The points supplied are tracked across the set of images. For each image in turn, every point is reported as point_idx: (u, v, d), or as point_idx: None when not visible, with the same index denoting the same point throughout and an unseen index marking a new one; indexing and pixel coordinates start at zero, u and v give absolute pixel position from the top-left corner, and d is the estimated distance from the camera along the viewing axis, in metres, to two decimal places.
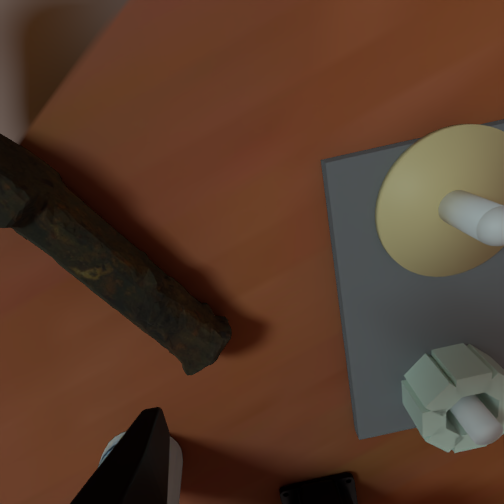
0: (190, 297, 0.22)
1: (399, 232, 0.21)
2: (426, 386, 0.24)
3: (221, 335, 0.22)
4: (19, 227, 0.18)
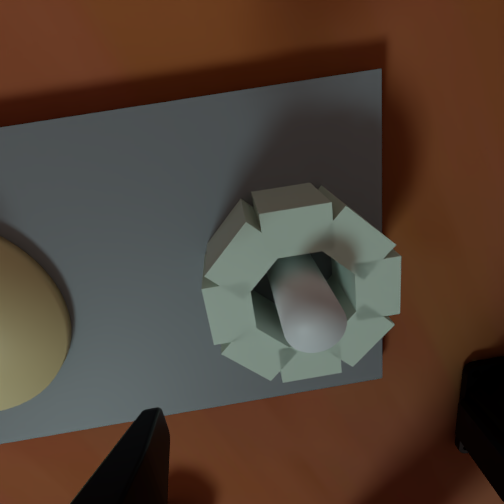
0: None
1: (2, 388, 0.16)
2: None
3: None
4: None
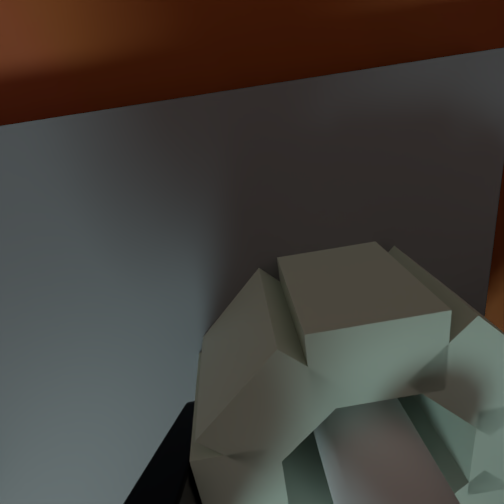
0: None
1: None
2: None
3: None
4: None
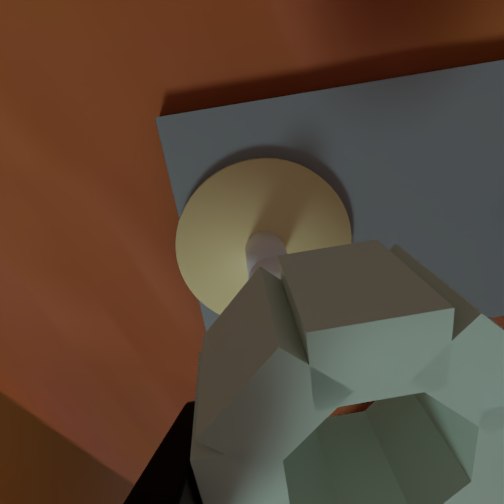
0: None
1: None
2: None
3: None
4: None
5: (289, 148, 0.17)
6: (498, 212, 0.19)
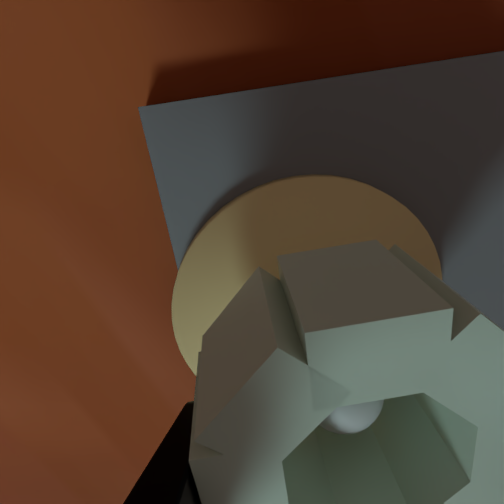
0: None
1: None
2: None
3: None
4: None
5: (355, 160, 0.11)
6: None
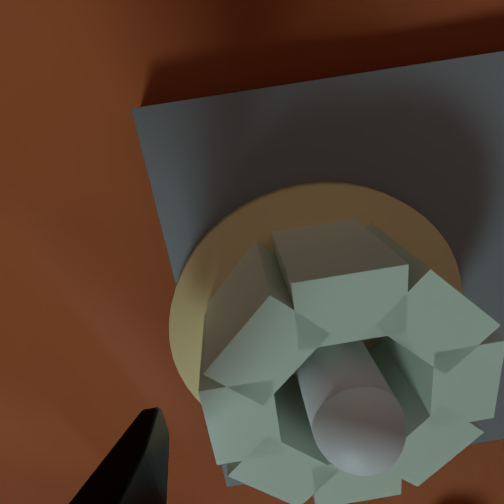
0: None
1: None
2: None
3: None
4: None
5: (370, 165, 0.10)
6: None
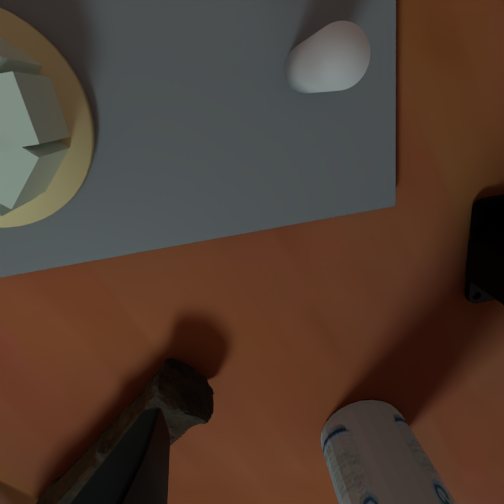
0: (133, 404, 0.21)
1: None
2: None
3: (153, 395, 0.19)
4: None
5: None
6: (276, 82, 0.16)
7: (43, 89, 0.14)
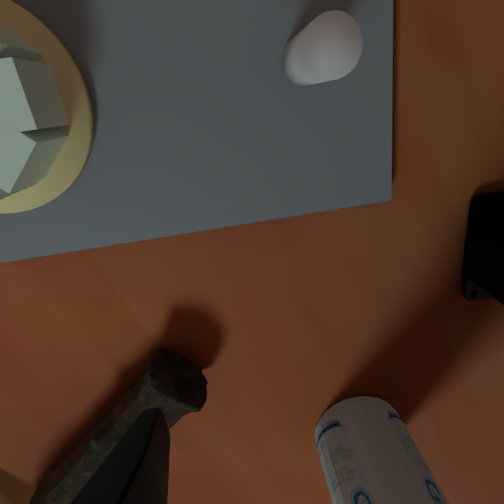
0: (128, 393, 0.22)
1: None
2: None
3: (146, 383, 0.20)
4: None
5: None
6: (273, 74, 0.16)
7: (43, 76, 0.14)
